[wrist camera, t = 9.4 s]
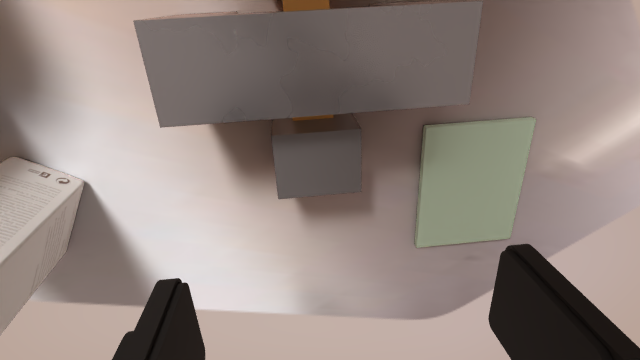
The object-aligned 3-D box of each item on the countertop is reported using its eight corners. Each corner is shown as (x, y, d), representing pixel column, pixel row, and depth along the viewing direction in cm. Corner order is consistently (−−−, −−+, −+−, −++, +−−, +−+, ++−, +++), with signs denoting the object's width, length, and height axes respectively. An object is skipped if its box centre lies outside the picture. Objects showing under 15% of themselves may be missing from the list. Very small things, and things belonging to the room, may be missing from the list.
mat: (423, 125, 23) (426, 127, 22) (531, 117, 23) (536, 119, 23) (414, 243, 27) (416, 247, 26) (506, 234, 27) (510, 238, 27)
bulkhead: (178, 14, 19) (133, 20, 13) (424, 1, 20) (483, 0, 14) (193, 92, 21) (160, 127, 15) (419, 76, 21) (469, 104, 16)
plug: (249, -111, 17) (238, -147, 13) (343, -115, 17) (362, -151, 13) (279, 165, 23) (278, 201, 19) (348, 159, 23) (361, 193, 19)
